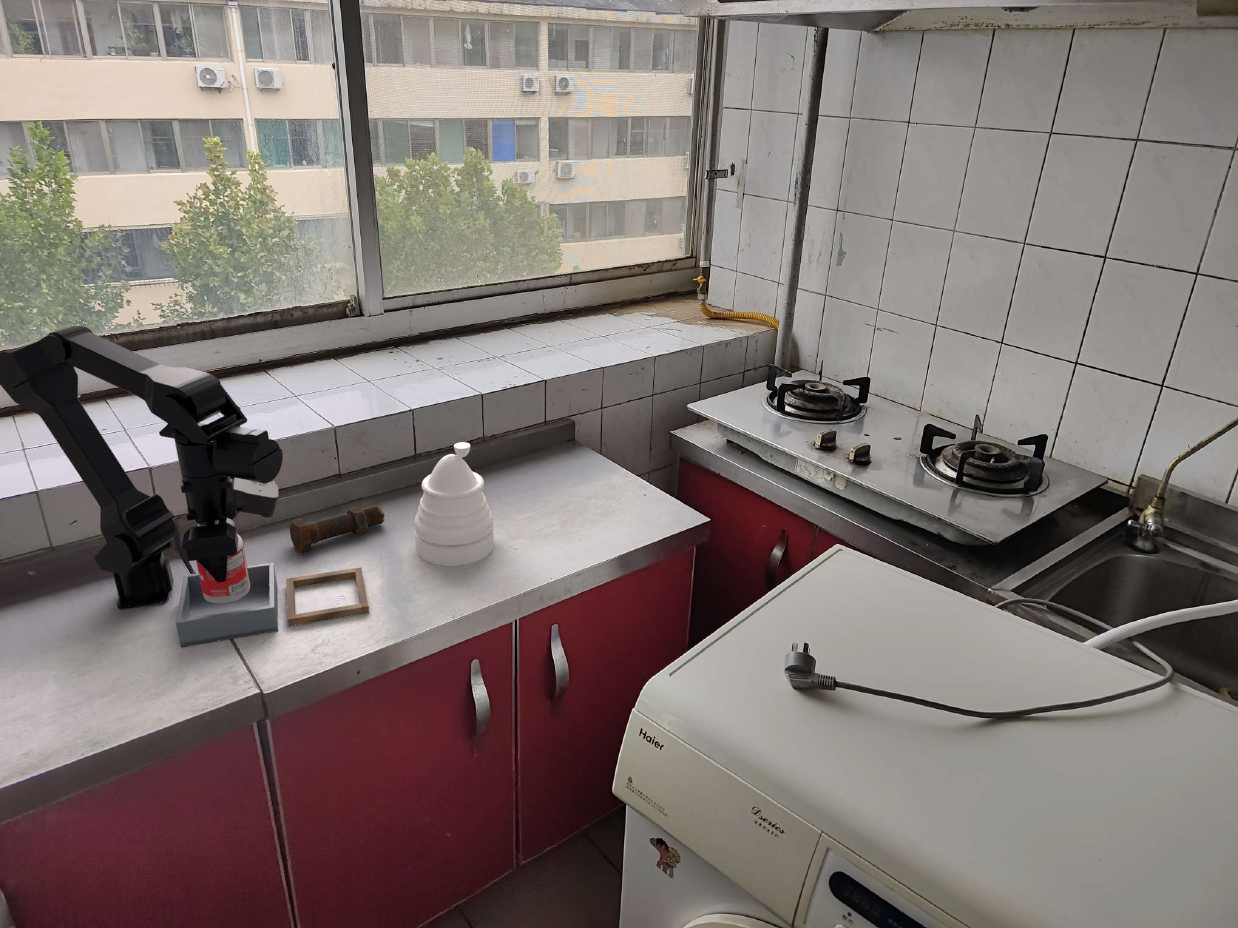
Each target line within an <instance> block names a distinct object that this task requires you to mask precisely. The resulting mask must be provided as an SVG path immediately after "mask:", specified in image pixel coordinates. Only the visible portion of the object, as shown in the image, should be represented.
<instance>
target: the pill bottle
mask: <svg viewBox="0 0 1238 928" xmlns="http://www.w3.org/2000/svg"><path fill="white" fill-rule="evenodd" d="M218 522H219V521H218ZM206 523H207V522H206ZM227 523H229V524H230V525H232V526H234V527H235V522H234V521H233V520H231V519H228V518H227ZM203 526H205V525H203ZM237 537H238V551H237V553H236V554H234V555H231V556H228V559H227V576H226V581H225V582H220V583H218V582H217V581H216V580H215V579H214V578H213V577H212V576H211V575H210V574H209V573H208V571H207V570H206V569H205V568H204V567H203V566H202V565H201V564H200V563H199V562H198V561H197V560H195V561H196V566H197V567H196V568H197V571H198V573H199V577H200V582H201V587H202V592H203V596H204V598H205V599H206V600H207V601H208V602H210V603H214V604H227V603H232V602H235V601H237V600H239V599H241V598H243V597H244V596H245V595H246V594H247V593H248V592H249V590H250V581H249V575H248V570H247V566H248V565H247V559H246V552H245V546H244V541H243V538H242V537H241V536H240V535H239V534H238V533H237Z"/></svg>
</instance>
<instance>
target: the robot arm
mask: <svg viewBox="0 0 1238 928" xmlns="http://www.w3.org/2000/svg"><path fill="white" fill-rule="evenodd" d="M75 368H76V369H78V370H81V371H83V372H85V373H87V374H88V375H91V376H93V377H95V378H98V379H100V380H102V381H103V382H106V383H108V384H110V385H112V386H115V387H117V388H119V389H121V390H123V391H125V392H128V393H130V394H132V395H134V396H136V397H138V398H140V400H143V401H144V403H145V404H146V405H147V408H148V409H149V412H150V413H151V414H152V415H154V416H156V417H157V418H159V419H160V420H162V421H163V422H165V423H167V424H166V425H165V427H163V428H162V429H161V430H159V432H158V435H159V436H160V437H164V438H167V439H174V443H175V444H174V446H175V450H176V456H177V460H178V465H179V471H180V476H181V482H180V490H181V493H182V494H184V496H185V500H186V501H185V502H186V506H187V507H186V513H185V515H186V519H187V521H195V522H196V524H197V526H190V527H189V528H188V530H187V531H185V533H183V536H182V544H181V550H182V556H183V561H184V560H185V561H187V562H192V561H193V562H194V561H196V560H197V561H198V562H199V563H200V564H201V565H202V566H203V567H204V568H205V569H206V570H207V571H208V573H209V574H210V575H211V576H212V577H213V578H214V579H215V580H216V581H217V582H218V583H220V582H225V581H226V576H227V559H228V556H231V555H234V554H236V553H237V551H238V537H237V534H238V530H237V527H236V526H235V525H234V526H232V525H230V524H229V523H227V518H228V519H231V520H232V521H233V520H234V519H235V518H236V517H238V515H239V513H240V512H242V513H246V514H252V515H258V516H261V517H262V518H272V517H273V516H274V514H275V513H274V512H275V510H276V505H277V502H278V499H279V495H280V494H279V486H278V484H276V480H275V479H276V477H277V476H278V475H279V473H280V470H281V468H282V465H283V459H284V458H283V457H284V455H283V454H284V452H283V450H282V448H281V446H280V445H279V443H278V442H277V441H276V440H275V439H271V438H269V437H270V436H269V431H268V430H266V429H261V428H256V429H255V428H254V429H253V428H248V427H241V426H243V425H245V424H246V423H247V422H248V418H247V417H246V416H245V414H244V413H243V412H242V409H241V408H240V406H238V404H237V403H236V402H235V401H234V399H232V397H231V396H230V394H229V393H228V392H227V390H226V389H225V387H223V385H222V384H221V381H220V380H219V379H218V378H217V377H216V376H215V375H213V374H211V373H208V372H205V371H202V370H198V369H194V368H192V367H191V368H190V367H182V366H168V365H164V364H160V363H159V362H156V361H155V360H152V359H150V358H147V357H145V356H143V355H140V354H138V353H136V352H135V351H131V350H130V349H128V348H125V347H123V346H121V345H119V344H116V343H114V342H113V341H110V340H108V339H106V338H103V337H101V336H99V335H98V334H96V333H94V332H93V330H91V329H90V328H89V327H87V326H85V325H73V326H69V327H65V328H62V329H57V330H55V331H52V332H49V333H48V334H47V335H45V336H44V337H42V338H41V339H39V340H37V341H35V342H32V343H28V344H25V345H22V346H18V347H15V348H11V349H9V350H5V351H2V352H0V386H1V388H2V389H3V390H4V391H5V393H6V394H7V395H8V396H9V398H11V400H13V402H14V403H16V404H17V405H19V406H22V407H23V408H25V409H27V410H28V411H31V412H32V413H35V414H37V415H38V416H39V417H40V419H41V420H42V422H43V423H44V425H45V426H46V427H47V429H48V430H49V432H50V433H51V435H52V437H53V438H54V440H55V441H56V443H57V444H58V446H59V447H60V448H61V450H62V451H63V453H64V455H65V456H66V458H67V459H68V461H69V462H70V463H71V465H72V466H73V468H74V470H76V472H77V474H78V475H79V477H80V478H81V480H82V481H83V484H85V486H86V488H87V489H88V490H89V492H90V493H91V495H92V496H93V498H94V499H95V501H96V502H97V504H98V506H99V507H100V509H99V510H100V511H99V513H100V517H99V518H100V519H99V522H100V523H99V529H100V532H101V534H102V536H103V537H104V540H105V541H106V544H104V545H103V547H102V548H101V549H100V550H99V551H98V552H97V553H96V554H95V555H94V556H93V557H94V560H95V562H96V564H97V565H98V567H99V569H100V570H101V571H103V572H109V573H112V576H113V580H114V582H115V587H116V592H117V596H118V600H117V604H116V605H117V608H118V609H119V610H120V609H127V608H133V607H140V606H148V605H155V604H160V603H166V602H168V601H169V597H170V593H171V591H173V587H174V576H173V572H172V568H171V563H170V560H169V559H168V558H165V555H164V552H165V551H166V550H168V549H171V548H172V546H173V540H174V538H175V536H176V531H177V529H178V528H177V525H176V522H175V520H174V518H175V515H174V513H172V512H171V511H170V510H169V508H168V507H167V506H166V503H165V501H164V499H163V498H162V496H161V495H160V494H157V493H155V494H153V495H149V494H147V493H145V492H143V491H141V490H139V489H137V487H136V486H135V485H134V483H133V481H132V479H130V476H129V475H128V474H127V472H126V471H125V468H124V467H123V466H122V464H121V463H120V461H119V459H118V458H117V457H116V455H115V453H114V452H113V450H112V449H111V447H110V446H109V445H108V443H107V441H106V440H105V438H104V436H103V435H102V433H101V432H100V430H99V429H98V427H97V426H96V425H95V423H94V421H93V420H92V418H91V417H90V415H89V414H88V413H89V412H87V410H86V409H85V407H84V406H83V404H82V403H81V401H80V398H79V375H78V373H77V370H76V369H75ZM218 414H221V415H222V416H221V417H220V418H217V419H215V420H213V421H211V422H209V423H207V424H205V423H203V421H205V420H208V419H209V418H211V417H214V416H216V415H218ZM201 422H202V423H201ZM218 521H219V522H218ZM206 522H207V523H206ZM203 525H205V526H203Z"/></svg>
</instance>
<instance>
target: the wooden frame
mask: <svg viewBox="0 0 1238 928" xmlns="http://www.w3.org/2000/svg"><path fill="white" fill-rule="evenodd" d="M353 579H355V580H356V586H357V593H358V599H359V603H357V604H350V605H343V606H337V607H332V608H331V607H330V608H326V609H319V610H313V611H308V612H307V611H306V612H302V613H301V612H300V613H297V612H296V597H295V595H296V593H295V588H300V587H301V588H302V587H307V586H315V585H320V584H321V585H322V584H328V583H333V582H339V581H345V580H353ZM285 582H286V583H285V584H286V586H285V587H286V611H287V612H286V614H287V623H288V627H295V626H300V625H305V624H312V623H318V622H324V621H329V620H330V621H331V620H336V619H340V618H347V617H348V618H349V617H355V616H359V615H366V614H370V608H369V607H370V606H369V602H368V601H369V600H368V596H367V595H368V594H367V591H366V585H365V580H364V574H363V570H362V567H361V566H360V567H355V568H348V569H341V570H340V569H339V570H336V571H335V570H334V571H329V572H322V573H321V572H320V573H315V574H307V575H301V576H296V577H289V578H285Z"/></svg>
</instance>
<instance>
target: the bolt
mask: <svg viewBox="0 0 1238 928" xmlns="http://www.w3.org/2000/svg"><path fill="white" fill-rule="evenodd" d="M385 521H386V520H385V512H384V511H383V509H382V508H381V507H380V506H378V505H376V506H372V507H370V508H366V509H362V507H359V506H356V505H354V506H352V507H349V508H348V510H347V511H346V514H341V515H338V516H336V517H331V518H327V519H324V520H323V519H322V520H320V521H316V522H310V523H305V521H303V520H302V518H296V519H293V520H292V521H291V522H290V524H289V535H290V540H291V542H292V545H293V548H294V549H295V551H296V552H298V553H299V554H302V555H303V554H304V555H305V554H308V553H310V552H311V548H312V545H314V544H317V543H319V542H322V541H326V540H328V539H332V538H335V537H339V536H343V535H346V534H350V533H351V534H353V535H354V536H361V535H364V534H366V533H367V530H368V528H371V527H375V526H379V525H382V524H383V523H384V522H385Z"/></svg>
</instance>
